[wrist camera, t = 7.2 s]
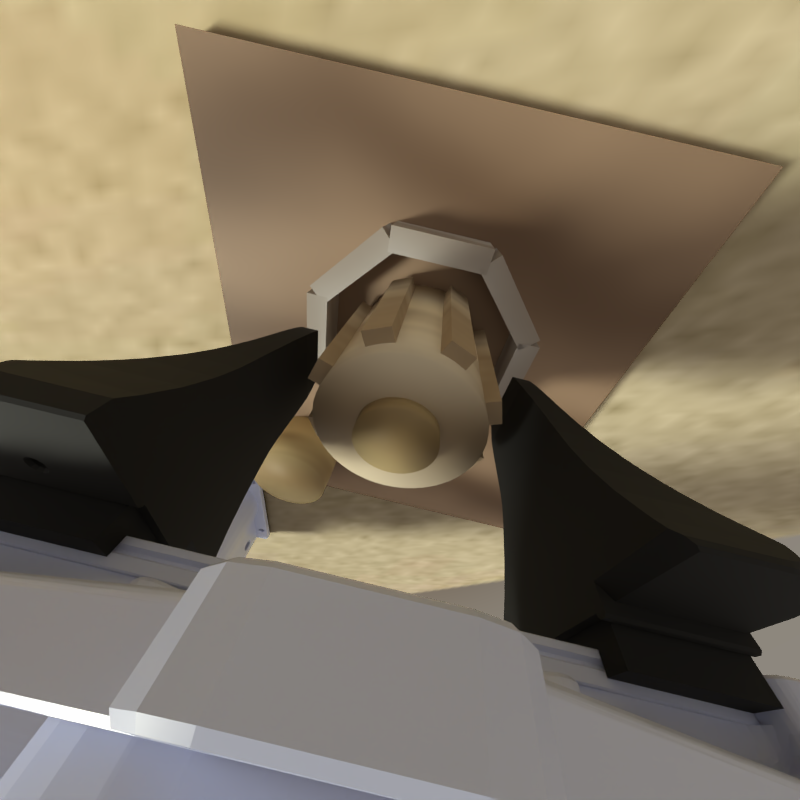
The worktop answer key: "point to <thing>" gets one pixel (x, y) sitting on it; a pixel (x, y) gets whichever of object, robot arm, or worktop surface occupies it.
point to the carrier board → (444, 230)
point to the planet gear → (407, 389)
